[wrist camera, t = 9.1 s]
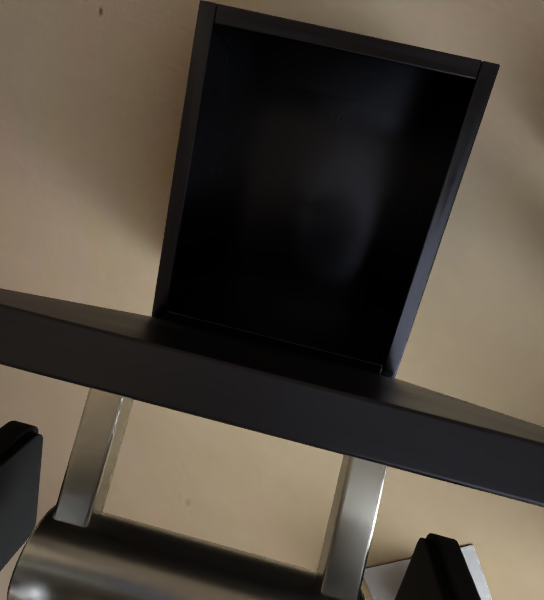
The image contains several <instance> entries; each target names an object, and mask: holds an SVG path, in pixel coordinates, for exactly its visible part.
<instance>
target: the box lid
mask: <svg viewBox="0 0 544 600" xmlns="http://www.w3.org/2000/svg"><path fill="white" fill-rule="evenodd" d="M0 364H1V365H5V366H9V367H13V368H17V369H20V370H24V371H28V372H32V373H36V374H39V375H43V376H47V377H51V378H55V379H58V380H62V381H66V382H70V383H74V384H77V385H81V386H85V387H89V388H90V390H89V393H88V396H87V400H86V403H85V407H84V410H83V414H82V417H81V421H80V424H79V428H78V431H77V435H76V438H75V442H74V445H73V449H72V452H71V455H70V459H69V462H68V466H67V469H66V473H65V476H64V480H63V483H62V487H61V490H60V494H59V497H58V501H57V504H56V505H55V506H54V507H53V508H51V509H50V510H49V511H48V512H47V513H46V515H45V516H44V517H43V518H42V519H41V521H40V522H39V523H38V525H37V526H36V528H35V529H34V531H33V532H32V534H31V536H30V537H29V539H28V541H27V542H26V545H25V546H24V548H23V550H22V552H21V554H20V556H19V559H18V561H17V563H16V566H15V568H14V571H13V574H12V577H11V580H10V583H9V587H8V592H7V600H365V598H364V593H363V590H362V588H361V586H362V581H363V576H364V572H365V567H366V563H367V558H368V553H369V549H370V544H371V540H372V535H373V530H374V526H375V521H376V517H377V512H378V507H379V503H380V498H381V493H382V489H383V484H384V480H385V475H386V470H387V466H389V467H393V468H396V469H400V470H404V471H408V472H412V473H415V474H419V475H423V476H427V477H431V478H434V479H438V480H442V481H446V482H450V483H453V484H457V485H461V486H465V487H469V488H472V489H476V490H480V491H484V492H488V493H491V494H495V495H499V496H503V497H507V498H510V499H514V500H518V501H522V502H526V503H529V504H533V505H537V506H541V507H544V427H542V426H539V425H536V424H533V423H529V422H526V421H523V420H520V419H517V418H514V417H511V416H508V415H505V414H502V413H499V412H496V411H493V410H490V409H487V408H484V407H481V406H478V405H475V404H472V403H469V402H466V401H463V400H459V399H456V398H453V397H450V396H447V395H444V394H441V393H438V392H435V391H432V390H429V389H426V388H423V387H420V386H417V385H414V384H411V383H408V382H405V381H402V380H399V379H395V378H391V377H388V376H384V375H380V374H376V373H372V372H368V371H364V370H360V369H356V368H352V367H348V366H344V365H340V364H336V363H332V362H328V361H324V360H320V359H316V358H312V357H308V356H304V355H301V354H297V353H293V352H289V351H285V350H281V349H277V348H273V347H269V346H265V345H261V344H257V343H253V342H249V341H245V340H241V339H237V338H233V337H229V336H225V335H221V334H218V333H214V332H210V331H206V330H202V329H198V328H194V327H190V326H186V325H182V324H178V323H174V322H170V321H166V320H162V319H158V318H154V317H150V316H145V315H140V314H134V313H129V312H124V311H118V310H113V309H108V308H102V307H97V306H92V305H86V304H81V303H75V302H70V301H65V300H59V299H54V298H49V297H43V296H38V295H33V294H27V293H22V292H17V291H11V290H6V289H0ZM133 400H138V401H142V402H146V403H149V404H153V405H157V406H161V407H165V408H168V409H172V410H176V411H180V412H184V413H187V414H191V415H195V416H199V417H203V418H206V419H210V420H214V421H218V422H222V423H225V424H229V425H233V426H237V427H241V428H244V429H248V430H252V431H256V432H260V433H263V434H267V435H271V436H275V437H279V438H282V439H286V440H290V441H294V442H298V443H301V444H305V445H309V446H313V447H317V448H320V449H324V450H328V451H332V452H336V453H339V454H343V460H342V464H341V469H340V473H339V477H338V482H337V486H336V491H335V495H334V499H333V504H332V508H331V513H330V517H329V521H328V526H327V530H326V534H325V539H324V543H323V548H322V552H321V556H320V561H319V565H318V570H317V571H313V570H310V569H306V568H303V567H299V566H295V565H292V564H288V563H285V562H281V561H277V560H274V559H270V558H267V557H263V556H259V555H256V554H252V553H248V552H245V551H241V550H238V549H234V548H230V547H227V546H223V545H220V544H216V543H212V542H209V541H205V540H202V539H198V538H194V537H191V536H187V535H184V534H180V533H176V532H173V531H169V530H166V529H162V528H158V527H155V526H151V525H148V524H144V523H140V522H137V521H133V520H130V519H126V518H122V517H119V516H115V515H112V514H108V513H104V512H103V508H104V505H105V501H106V498H107V494H108V490H109V487H110V483H111V480H112V476H113V472H114V469H115V465H116V461H117V458H118V454H119V451H120V447H121V443H122V440H123V436H124V433H125V429H126V425H127V422H128V418H129V415H130V411H131V407H132V404H133Z"/></svg>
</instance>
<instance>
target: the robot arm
mask: <svg viewBox="0 0 544 600" xmlns="http://www.w3.org/2000/svg"><path fill="white" fill-rule="evenodd" d="M42 445H43V437H42V435H41V434H38V428H37V427H35V426H32V425H29V424H25V423H21V422H18V421H10V422H8V423H7V424H5V425H4V426H3V427H1V428H0V571H1V570H2V569H3V567H4V566H5V565H6V564H7V563H8V561H9V560H10V559H11V558H12V557H13V556H14V554H15V553H16V552H17V551H18V549H19V548H20V547H21V546H22V545H23V544H24V543H25V541H26V540H27V539H28V538H29V536H30V535H31V533H32V531H33V529H34V527H35V524H36V516H37V504H38V493H39V481H40V469H41V457H42ZM395 600H481V598H480V595H479V593H478V590H477V588H476V586H475V583H474V581H473V578H472V576H471V573H470V571H469V568H468V566H467V563H466V561H465V558H464V556H463V553H462V551H461V548H460V546H459V544H458V542H457V541H456V540H455V539H451V538H447V537H444V536H440V535H436V534H432V533H430V534H428V535H427V537H426V539H425V538H420V539H419V541H418V543H417V545H416V548H415V550H414V553H413V555H412V558H411V560H410V562H409V565H408V567H407V570H406V572H405V575H404V577H403V580H402V582H401V585H400V587H399V590H398V592H397V595H396V597H395Z"/></svg>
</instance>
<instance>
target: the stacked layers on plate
mask: <svg viewBox="0 0 544 600" xmlns="http://www.w3.org/2000/svg"><path fill="white" fill-rule="evenodd" d="M461 551H462V553H463V556H464V558H465V561H466V563H467V566H468V568H469V571H470V573H471V576H472V578H473V581H474V583H475V586H476V588H477V590H478V593H479V595H480V598H481V600H492V597H491V594H490V592H489V589H488V586H487V583H486V580H485V577H484V574H483V572H482V569H481V566H480V563H479V560H478V557H477V554H476V552H475V549H474V546H473V545H470V546H466V547H461ZM410 560H411V559H407V560H403V561H398V562H394V563H389V564H385V565H380V566H376V567H371V568H367V569H365V572H364V579H365V581H366V584H367V586H368V588H369V591H370V593H371V595H372V598H373V600H395V597H396V595H397V592H398V590H399V587H400V585H401V582H402V580H403V577H404V575H405V572H406V570H407V567H408V565H409V562H410Z"/></svg>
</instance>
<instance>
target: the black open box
mask: <svg viewBox="0 0 544 600" xmlns="http://www.w3.org/2000/svg"><path fill="white" fill-rule="evenodd" d="M499 67H500V65H499V64H495V63H490V62H486V61H481V60H477V59H472V58H468V57H463V56H458V55H454V54H449V53H444V52H440V51H435V50H430V49H426V48H421V47H416V46H412V45H407V44H402V43H398V42H393V41H388V40H384V39H379V38H374V37H370V36H365V35H360V34H356V33H351V32H346V31H342V30H337V29H332V28H328V27H323V26H318V25H314V24H309V23H305V22H300V21H295V20H291V19H286V18H281V17H277V16H272V15H267V14H263V13H258V12H253V11H249V10H244V9H239V8H235V7H230V6H225V5H221V4H216V3H212V2H207V1H203V0H200V3H199V10H198V16H197V23H196V29H195V36H194V43H193V49H192V56H191V62H190V69H189V75H188V82H187V88H186V95H185V101H184V108H183V114H182V121H181V128H180V134H179V141H178V147H177V154H176V160H175V167H174V173H173V180H172V186H171V193H170V200H169V206H168V213H167V219H166V226H165V232H164V239H163V245H162V252H161V258H160V265H159V271H158V278H157V285H156V291H155V298H154V304H153V311H152V317H154V318H158V319H162V320H166V321H170V322H174V323H178V324H182V325H186V326H190V327H194V328H198V329H202V330H206V331H210V332H214V333H218V334H221V335H225V336H229V337H233V338H237V339H241V340H245V341H249V342H253V343H257V344H261V345H265V346H269V347H273V348H277V349H281V350H285V351H289V352H293V353H297V354H301V355H304V356H308V357H312V358H316V359H320V360H324V361H328V362H332V363H336V364H340V365H344V366H348V367H352V368H356V369H360V370H364V371H368V372H372V373H376V374H380V375H384V376H388V377H391V378H395V376H396V373H397V370H398V367H399V364H400V361H401V358H402V355H403V352H404V349H405V346H406V343H407V340H408V337H409V334H410V331H411V328H412V325H413V322H414V320H415V317H416V314H417V311H418V308H419V305H420V302H421V299H422V296H423V293H424V290H425V287H426V284H427V281H428V278H429V275H430V272H431V269H432V266H433V263H434V260H435V257H436V254H437V251H438V248H439V245H440V242H441V239H442V236H443V233H444V230H445V227H446V225H447V222H448V219H449V216H450V213H451V210H452V207H453V204H454V201H455V198H456V195H457V192H458V189H459V186H460V183H461V180H462V177H463V174H464V171H465V168H466V165H467V162H468V159H469V156H470V153H471V150H472V147H473V144H474V141H475V138H476V135H477V133H478V130H479V127H480V124H481V121H482V118H483V115H484V112H485V109H486V106H487V103H488V100H489V97H490V94H491V91H492V88H493V85H494V82H495V79H496V76H497V73H498V70H499Z"/></svg>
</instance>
